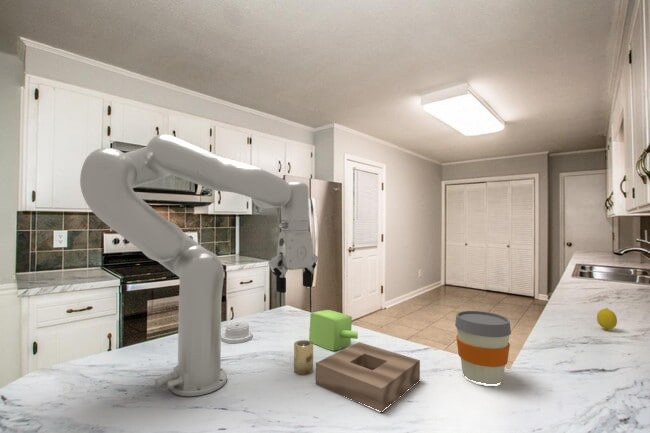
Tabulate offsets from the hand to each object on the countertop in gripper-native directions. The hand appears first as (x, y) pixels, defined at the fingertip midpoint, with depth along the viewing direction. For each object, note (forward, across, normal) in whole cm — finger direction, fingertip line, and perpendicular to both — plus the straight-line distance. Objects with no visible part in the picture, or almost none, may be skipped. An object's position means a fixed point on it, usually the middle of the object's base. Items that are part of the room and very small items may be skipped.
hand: (294, 289), depth 89 cm
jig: (+20, +5, -21) cm, 30 cm away
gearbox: (+20, +18, +1) cm, 27 cm away
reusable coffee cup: (+20, +26, -41) cm, 53 cm away
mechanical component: (+20, -1, +28) cm, 34 cm away
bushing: (+20, -2, -6) cm, 21 cm away
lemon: (+21, +96, -62) cm, 116 cm away
